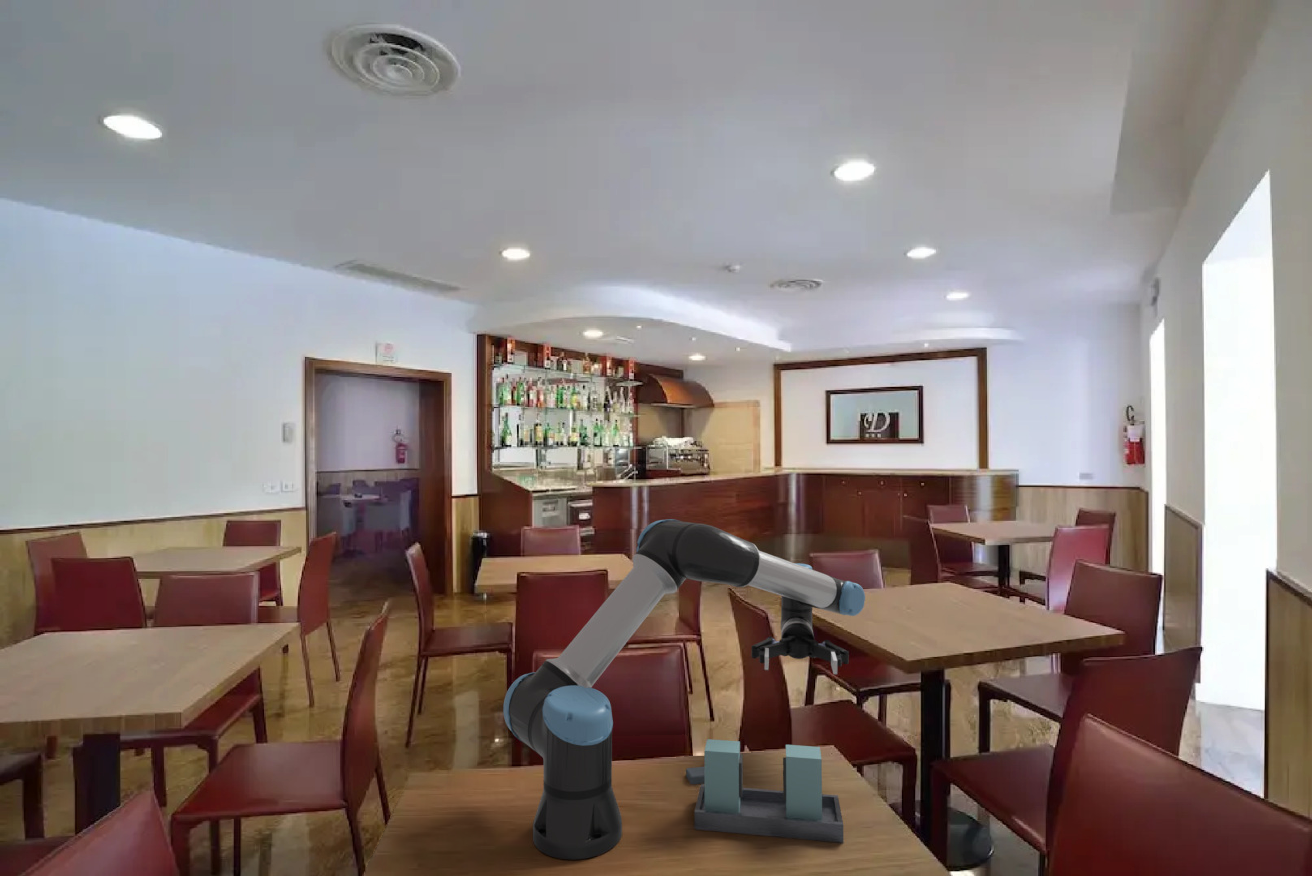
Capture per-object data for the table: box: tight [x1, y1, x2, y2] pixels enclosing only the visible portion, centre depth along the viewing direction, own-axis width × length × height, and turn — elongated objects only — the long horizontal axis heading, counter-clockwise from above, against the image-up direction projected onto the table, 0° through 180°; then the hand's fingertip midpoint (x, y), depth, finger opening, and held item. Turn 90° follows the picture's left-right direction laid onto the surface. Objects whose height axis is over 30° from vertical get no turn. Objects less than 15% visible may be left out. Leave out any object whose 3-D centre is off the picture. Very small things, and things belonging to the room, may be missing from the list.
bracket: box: [685, 765, 705, 785], centre depth 137 cm, size 4×10×2 cm, turn 104°
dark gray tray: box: [694, 783, 844, 844], centre depth 121 cm, size 25×10×3 cm, turn 80°
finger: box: [782, 744, 823, 820], centre depth 120 cm, size 6×5×11 cm
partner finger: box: [703, 738, 744, 813], centre depth 123 cm, size 6×5×11 cm
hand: (800, 665), depth 138 cm, fingers open, 13 cm apart
